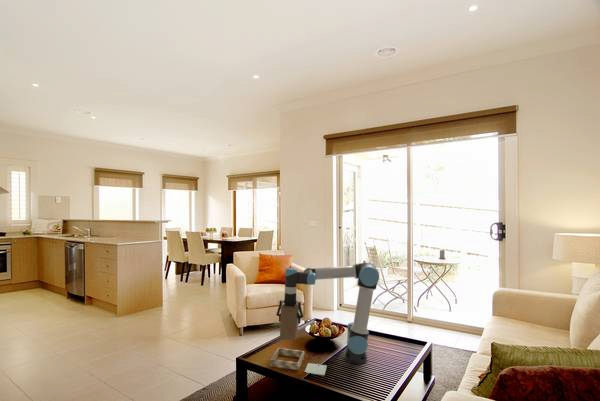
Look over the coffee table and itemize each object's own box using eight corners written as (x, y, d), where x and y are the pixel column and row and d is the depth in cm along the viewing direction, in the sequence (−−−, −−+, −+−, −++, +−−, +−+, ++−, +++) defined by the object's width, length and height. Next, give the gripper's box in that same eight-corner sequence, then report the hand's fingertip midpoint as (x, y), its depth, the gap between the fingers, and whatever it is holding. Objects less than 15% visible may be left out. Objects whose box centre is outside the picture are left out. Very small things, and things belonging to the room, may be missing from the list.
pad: (326, 366, 206) (326, 365, 206) (324, 375, 194) (324, 374, 194) (308, 363, 209) (308, 362, 209) (304, 372, 197) (304, 372, 197)
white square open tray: (304, 357, 217) (304, 351, 217) (298, 370, 200) (298, 363, 200) (277, 353, 221) (278, 347, 221) (270, 366, 203) (270, 359, 204)
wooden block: (295, 340, 205) (296, 308, 205) (279, 339, 207) (280, 306, 207) (298, 334, 215) (299, 303, 215) (283, 333, 217) (284, 302, 217)
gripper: (308, 292, 213) (307, 327, 212) (275, 289, 217) (274, 323, 217) (306, 295, 205) (305, 331, 205) (271, 292, 210) (270, 327, 210)
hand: (289, 327), depth 211 cm, fingers closed on wooden block, 10 cm apart
